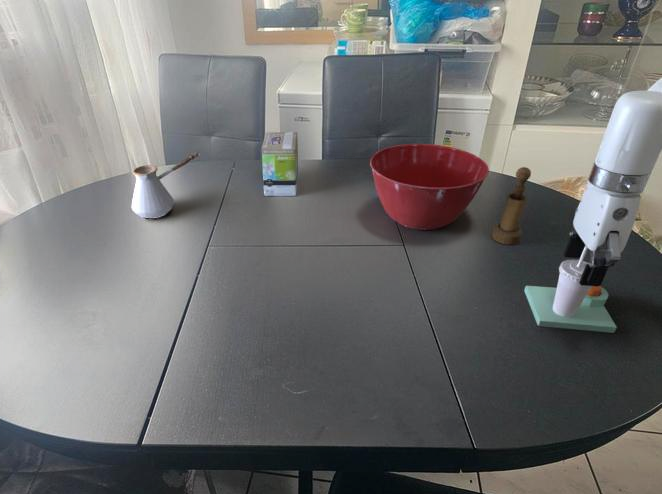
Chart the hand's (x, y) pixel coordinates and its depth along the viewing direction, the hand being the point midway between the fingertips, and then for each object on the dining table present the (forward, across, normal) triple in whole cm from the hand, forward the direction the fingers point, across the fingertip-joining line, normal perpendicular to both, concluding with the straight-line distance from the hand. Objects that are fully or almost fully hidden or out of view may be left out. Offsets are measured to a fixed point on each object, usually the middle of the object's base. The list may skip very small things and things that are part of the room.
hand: (580, 269), depth 79 cm
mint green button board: (+11, +2, -1) cm, 11 cm away
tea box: (+11, +53, +66) cm, 85 cm away
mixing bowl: (+11, +37, +25) cm, 46 cm away
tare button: (+8, +5, -6) cm, 11 cm away
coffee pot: (+11, +34, +94) cm, 100 cm away
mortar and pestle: (+11, +29, +5) cm, 31 cm away
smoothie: (+10, 0, 0) cm, 10 cm away
